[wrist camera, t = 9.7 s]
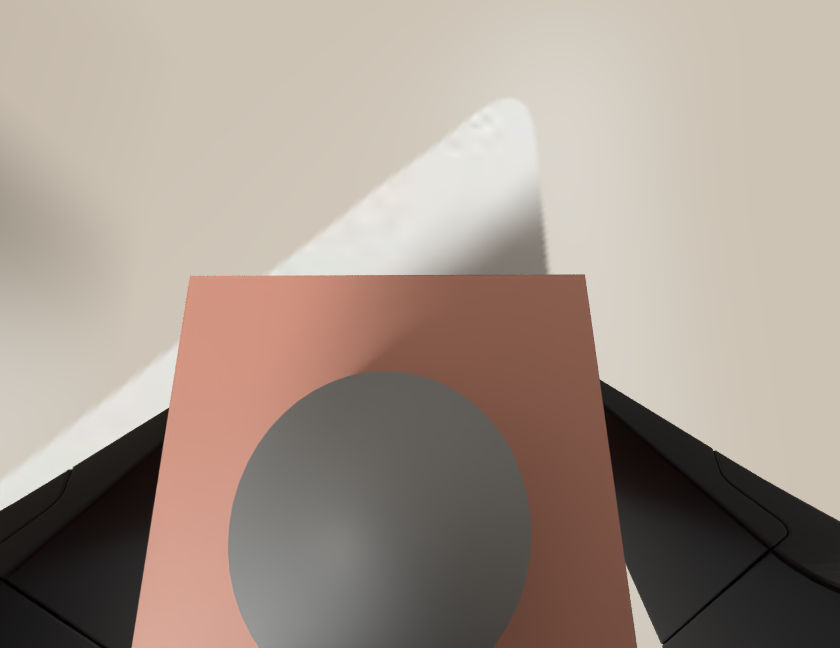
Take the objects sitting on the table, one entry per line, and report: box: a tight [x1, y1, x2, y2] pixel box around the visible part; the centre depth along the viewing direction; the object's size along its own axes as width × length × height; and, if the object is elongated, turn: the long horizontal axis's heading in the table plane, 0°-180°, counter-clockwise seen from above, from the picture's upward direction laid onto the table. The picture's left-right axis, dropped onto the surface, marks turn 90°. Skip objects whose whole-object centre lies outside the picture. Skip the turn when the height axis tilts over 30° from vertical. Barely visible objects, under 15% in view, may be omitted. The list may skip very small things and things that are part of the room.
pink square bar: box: [132, 275, 637, 648], centre depth 9 cm, size 5×5×14 cm
